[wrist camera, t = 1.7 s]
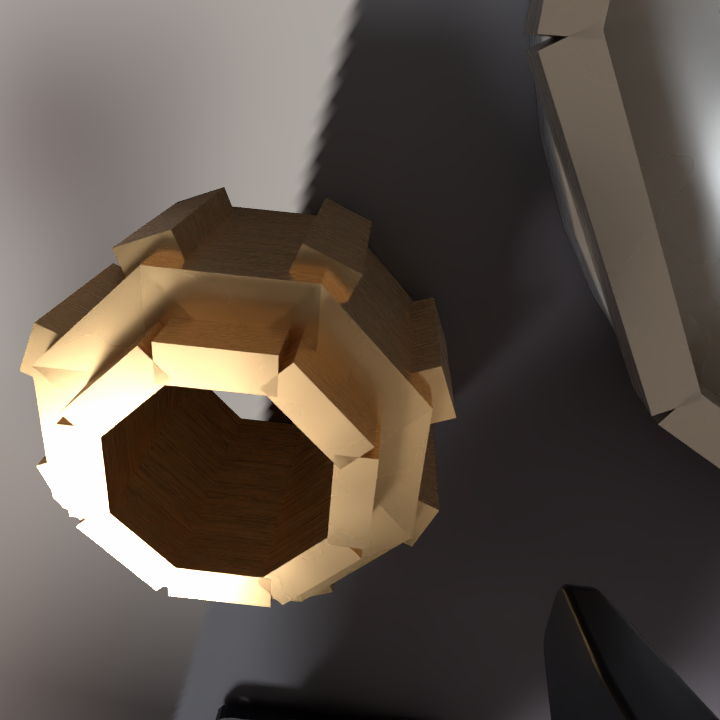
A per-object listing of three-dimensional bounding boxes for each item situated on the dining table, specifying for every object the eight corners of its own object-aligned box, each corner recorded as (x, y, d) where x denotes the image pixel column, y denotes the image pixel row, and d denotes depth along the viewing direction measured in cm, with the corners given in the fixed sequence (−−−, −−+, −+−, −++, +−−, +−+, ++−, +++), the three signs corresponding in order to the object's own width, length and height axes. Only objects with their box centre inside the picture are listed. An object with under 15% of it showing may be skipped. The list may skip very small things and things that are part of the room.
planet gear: (416, 502, 14) (421, 673, 10) (123, 470, 14) (21, 626, 10) (464, 207, 11) (496, 292, 7) (94, 169, 11) (-66, 234, 7)
